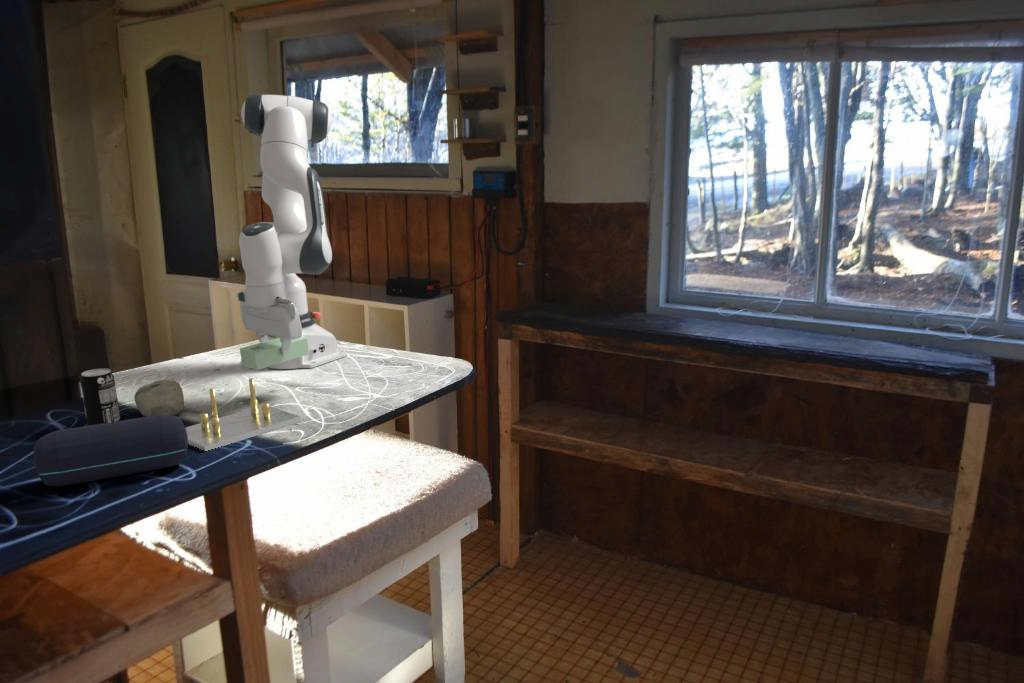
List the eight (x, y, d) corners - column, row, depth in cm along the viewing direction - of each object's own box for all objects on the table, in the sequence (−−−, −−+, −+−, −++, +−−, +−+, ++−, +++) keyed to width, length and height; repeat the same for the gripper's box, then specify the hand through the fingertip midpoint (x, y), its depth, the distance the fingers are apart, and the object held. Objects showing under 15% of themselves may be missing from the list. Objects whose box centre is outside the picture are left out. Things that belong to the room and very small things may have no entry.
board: (294, 349, 195) (291, 334, 194) (309, 354, 191) (307, 338, 190) (242, 365, 185) (239, 348, 184) (257, 369, 181) (254, 353, 180)
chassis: (265, 409, 181) (260, 367, 179) (300, 421, 172) (296, 377, 170) (171, 437, 165) (165, 391, 163) (205, 451, 156) (198, 403, 154)
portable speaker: (189, 453, 156) (182, 405, 154) (192, 470, 147) (185, 419, 145) (43, 478, 146) (33, 427, 144) (37, 499, 137) (26, 444, 135)
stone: (183, 386, 188) (179, 365, 180) (187, 425, 183) (182, 405, 175) (137, 393, 185) (130, 371, 177) (140, 432, 180) (132, 412, 172)
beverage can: (89, 422, 177) (81, 370, 174) (122, 417, 179) (114, 366, 177) (85, 431, 171) (76, 377, 168) (119, 426, 173) (111, 373, 171)
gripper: (304, 297, 179) (312, 355, 183) (256, 287, 192) (264, 342, 196) (280, 303, 175) (288, 362, 179) (232, 293, 188) (241, 349, 192)
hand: (275, 352), depth 188 cm, fingers closed on board, 6 cm apart
